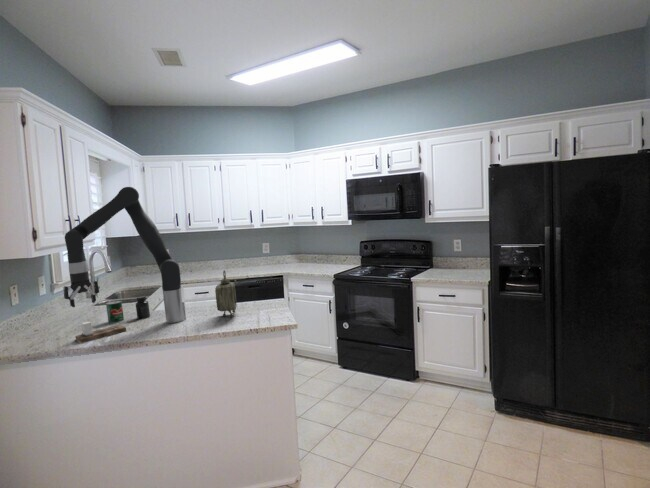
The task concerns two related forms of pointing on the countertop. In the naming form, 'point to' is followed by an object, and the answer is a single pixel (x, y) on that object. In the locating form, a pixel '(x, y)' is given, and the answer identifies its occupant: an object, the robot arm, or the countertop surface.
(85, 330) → the fader
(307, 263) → the countertop surface
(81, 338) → the board
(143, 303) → the supplement bottle
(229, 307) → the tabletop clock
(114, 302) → the canned tomato
